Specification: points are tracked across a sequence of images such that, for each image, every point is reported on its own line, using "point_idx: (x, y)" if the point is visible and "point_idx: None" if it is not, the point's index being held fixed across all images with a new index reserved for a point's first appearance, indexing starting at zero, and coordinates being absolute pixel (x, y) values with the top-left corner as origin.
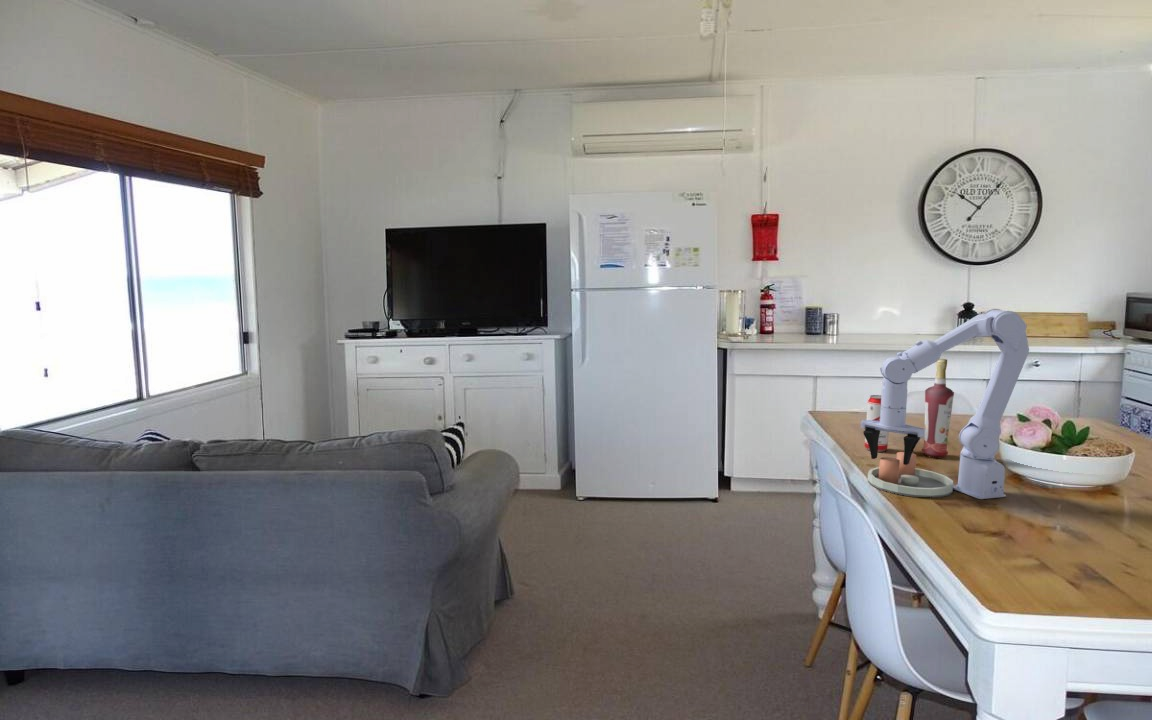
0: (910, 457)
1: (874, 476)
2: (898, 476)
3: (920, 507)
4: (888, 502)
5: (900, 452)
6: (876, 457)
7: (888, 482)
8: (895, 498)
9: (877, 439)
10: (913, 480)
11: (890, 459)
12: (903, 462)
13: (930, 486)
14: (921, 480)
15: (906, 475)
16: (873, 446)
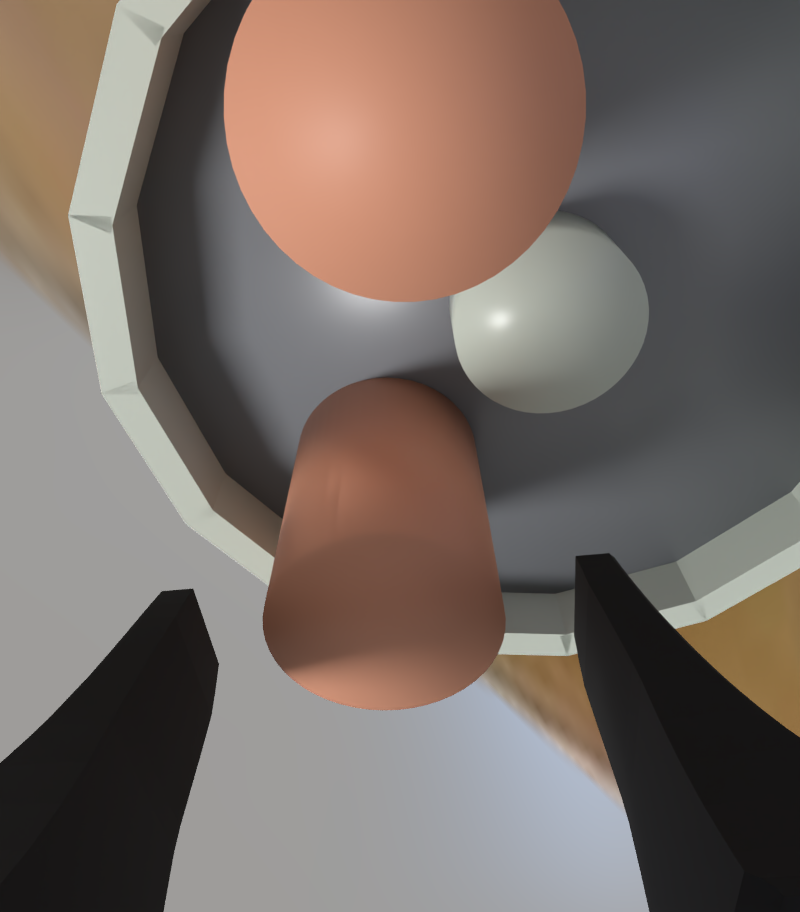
0: (647, 603)
1: (173, 348)
2: (480, 479)
3: None
4: (562, 749)
5: (258, 89)
6: (197, 608)
7: None
8: (568, 667)
9: (96, 823)
10: (609, 380)
11: (386, 614)
12: (580, 661)
13: (752, 234)
14: (609, 56)
15: (498, 298)
16: (174, 836)
